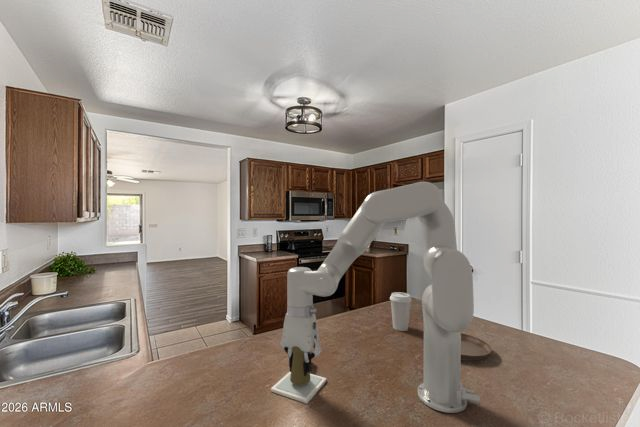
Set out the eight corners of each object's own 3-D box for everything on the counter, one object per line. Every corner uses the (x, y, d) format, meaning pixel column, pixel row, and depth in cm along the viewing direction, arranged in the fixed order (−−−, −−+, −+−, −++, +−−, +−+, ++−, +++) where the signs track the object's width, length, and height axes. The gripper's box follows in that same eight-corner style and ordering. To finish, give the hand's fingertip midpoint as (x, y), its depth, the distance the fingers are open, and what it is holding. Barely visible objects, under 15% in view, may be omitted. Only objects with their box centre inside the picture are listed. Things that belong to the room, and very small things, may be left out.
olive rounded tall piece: (307, 385, 82) (307, 347, 82) (287, 383, 83) (287, 345, 83) (312, 374, 88) (312, 338, 88) (293, 372, 89) (293, 336, 89)
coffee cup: (414, 332, 125) (414, 297, 125) (392, 332, 125) (392, 297, 125) (408, 324, 134) (408, 291, 134) (387, 324, 134) (387, 291, 134)
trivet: (326, 380, 88) (326, 377, 88) (307, 403, 78) (307, 400, 78) (292, 371, 94) (292, 368, 94) (270, 391, 83) (270, 388, 83)
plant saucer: (450, 334, 123) (450, 327, 123) (502, 354, 106) (502, 345, 106) (418, 346, 112) (418, 338, 112) (471, 371, 95) (471, 361, 95)
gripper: (331, 310, 85) (331, 372, 85) (283, 302, 93) (283, 359, 93) (319, 318, 79) (319, 386, 78) (269, 309, 86) (269, 371, 86)
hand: (300, 371), depth 86 cm, fingers closed on olive rounded tall piece, 4 cm apart
